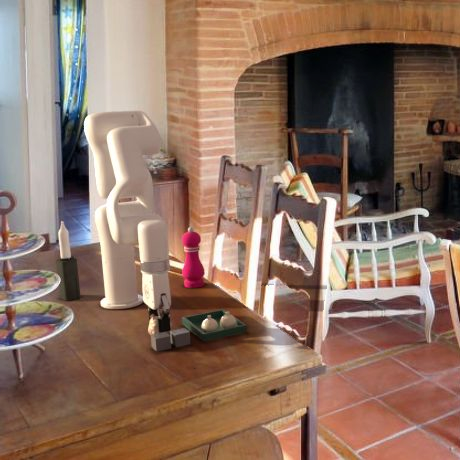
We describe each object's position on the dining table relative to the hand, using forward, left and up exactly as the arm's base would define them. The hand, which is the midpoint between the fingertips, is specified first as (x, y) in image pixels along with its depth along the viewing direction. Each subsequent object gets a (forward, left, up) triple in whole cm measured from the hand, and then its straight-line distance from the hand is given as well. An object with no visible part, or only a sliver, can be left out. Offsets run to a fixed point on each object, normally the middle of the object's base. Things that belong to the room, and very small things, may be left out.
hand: (159, 327), depth 220 cm
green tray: (+2, +15, -3) cm, 15 cm away
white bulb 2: (+6, +17, -3) cm, 18 cm away
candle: (-51, -12, -3) cm, 52 cm away
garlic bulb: (0, 0, -3) cm, 3 cm away
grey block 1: (+8, -3, -3) cm, 9 cm away
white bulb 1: (+6, +12, -3) cm, 14 cm away
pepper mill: (-41, +25, -3) cm, 48 cm away
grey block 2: (+8, +3, -3) cm, 9 cm away
